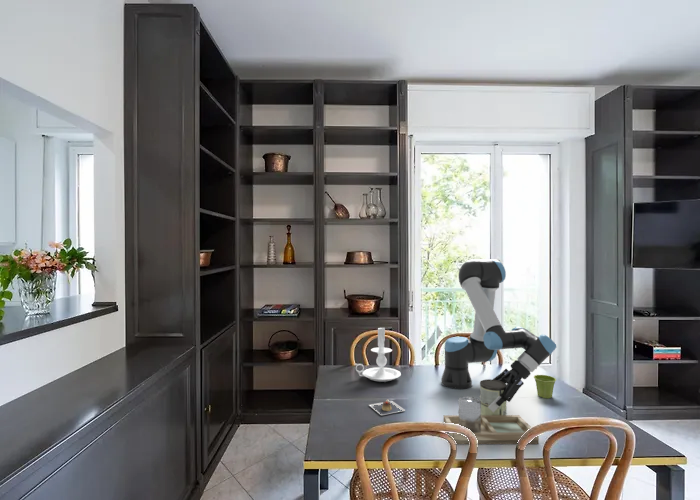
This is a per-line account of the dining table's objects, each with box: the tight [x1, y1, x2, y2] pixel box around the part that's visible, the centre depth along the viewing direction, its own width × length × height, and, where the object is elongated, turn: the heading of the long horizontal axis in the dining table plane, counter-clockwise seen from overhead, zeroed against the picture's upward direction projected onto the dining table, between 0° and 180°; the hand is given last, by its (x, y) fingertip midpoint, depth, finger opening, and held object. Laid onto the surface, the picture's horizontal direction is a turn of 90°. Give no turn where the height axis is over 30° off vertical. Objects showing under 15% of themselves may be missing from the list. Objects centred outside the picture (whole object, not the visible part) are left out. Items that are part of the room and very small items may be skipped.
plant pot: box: [533, 374, 557, 399], centre depth 184 cm, size 9×9×9 cm
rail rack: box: [443, 414, 540, 445], centre depth 147 cm, size 16×30×4 cm, turn 90°
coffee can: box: [479, 378, 507, 415], centre depth 161 cm, size 10×10×14 cm
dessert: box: [368, 398, 406, 416], centre depth 170 cm, size 12×12×5 cm
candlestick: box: [354, 326, 402, 383], centre depth 208 cm, size 21×25×28 cm
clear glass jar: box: [458, 396, 481, 433], centre depth 147 cm, size 8×8×11 cm
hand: (485, 404), depth 161 cm, fingers closed on coffee can, 10 cm apart
